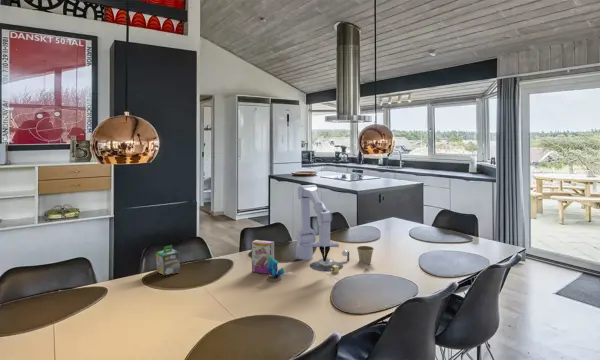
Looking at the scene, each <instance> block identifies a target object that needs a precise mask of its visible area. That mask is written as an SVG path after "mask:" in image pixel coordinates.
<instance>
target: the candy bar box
mask: <svg viewBox="0 0 600 360" xmlns="http://www.w3.org/2000/svg"><path fill="white" fill-rule="evenodd" d="M269 256H270V257H272V258H273V259H275V241H270V240H260V239H254V240H253V241H251V273H258V274H266V275H271V274H270V273H269V272H268V271H267V266H268V260H269Z"/></svg>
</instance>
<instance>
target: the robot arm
mask: <svg viewBox="0 0 600 360" xmlns="http://www.w3.org/2000/svg"><path fill="white" fill-rule="evenodd" d="M297 197H298V200H300V207H301V208H300V209H301V211H300V212H301V228H300V229H299V230H298V231H297V235H296V241H297V244H296V245H295V260H303V261H310V260H313V259H314V257H313V256H314V255H313V254H314V253H313V252H314V250H313V249H314V248H319V251H320V253H321V257H322V258H323V261H326V258H328V255H329V253H330V250H331V248H339V247H340V244H339V242H335V241H334V242H333V241H331V223H332V221H333V214H332V211H331V210H329V209H327V207H326V206H325V203H324V202H323V201H321V200H320V197H319V196H318V186H317V184H308V185H307V184H306V185H303V184H302V185H301V184H299V186H298V188H297ZM310 202H312V204H313V207H312V208H313V209H314V212H315V213H316V214H315V215H316V220H317V225H318V241H316V239H317V237H316V233H315V230H314V229H312V228H311V213H310V212H311V207H310V205H311V204H310Z"/></svg>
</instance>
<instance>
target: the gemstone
mask: <svg viewBox="0 0 600 360" xmlns="http://www.w3.org/2000/svg"><path fill="white" fill-rule="evenodd" d="M278 264H279V261H278V260H277V259H275V258H274V259H273V258H272V257H270V256H269V260H268V266H267V271H268V272H269V273H270V274H269V275H268V276H266V280H267V281H269V282H279V281H281V280H282V275H284V267H282V268H280V269H279V268H278Z"/></svg>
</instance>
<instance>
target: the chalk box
mask: <svg viewBox="0 0 600 360" xmlns="http://www.w3.org/2000/svg"><path fill="white" fill-rule="evenodd" d="M155 262H156V273H157V272H159V273H161V274H163V275H166V274H170V273H173V272H178V271H180V272H181V260H180V251H179V250H175V249H173V244H170V245H165V246H163V250H160V251H157V252H155Z"/></svg>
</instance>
